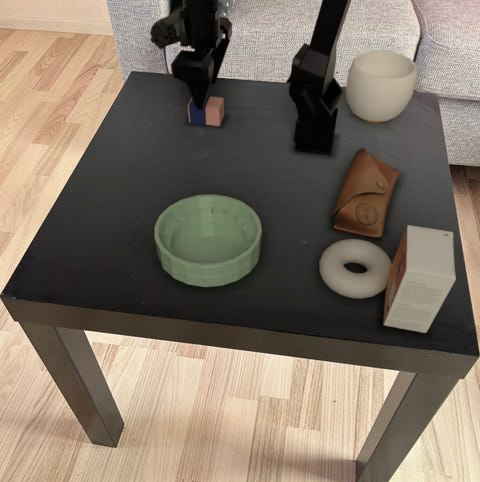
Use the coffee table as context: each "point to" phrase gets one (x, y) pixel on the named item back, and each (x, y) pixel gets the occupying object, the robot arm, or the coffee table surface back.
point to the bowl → (208, 240)
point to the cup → (380, 85)
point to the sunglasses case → (364, 196)
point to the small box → (419, 278)
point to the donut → (349, 281)
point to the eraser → (207, 111)
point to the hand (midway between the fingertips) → (206, 96)
